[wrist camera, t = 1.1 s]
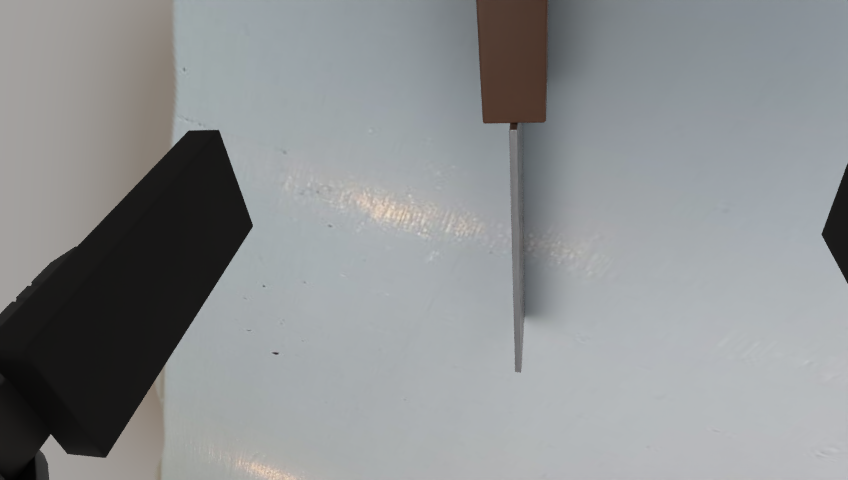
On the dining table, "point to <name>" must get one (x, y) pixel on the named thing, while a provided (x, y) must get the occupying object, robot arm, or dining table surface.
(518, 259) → the knife
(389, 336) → the dining table surface
